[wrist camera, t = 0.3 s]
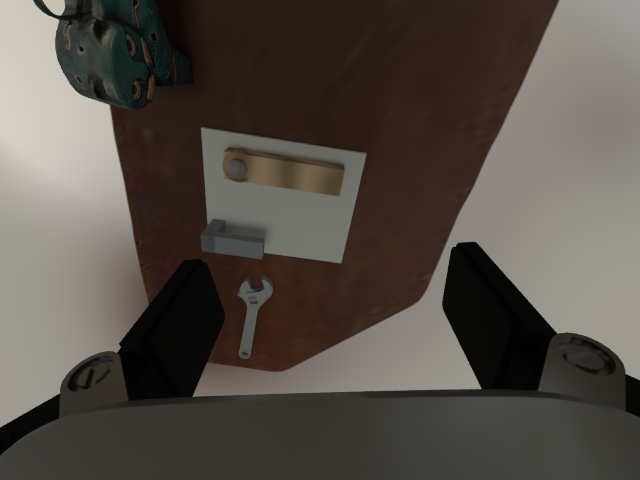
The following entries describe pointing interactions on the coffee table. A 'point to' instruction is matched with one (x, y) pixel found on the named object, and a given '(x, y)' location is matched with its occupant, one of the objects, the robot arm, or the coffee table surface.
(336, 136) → the coffee table surface
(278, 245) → the mounting board
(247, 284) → the adjustable wrench
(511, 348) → the robot arm
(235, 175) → the tan bar
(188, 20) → the coffee table surface
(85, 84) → the ceramic cat
